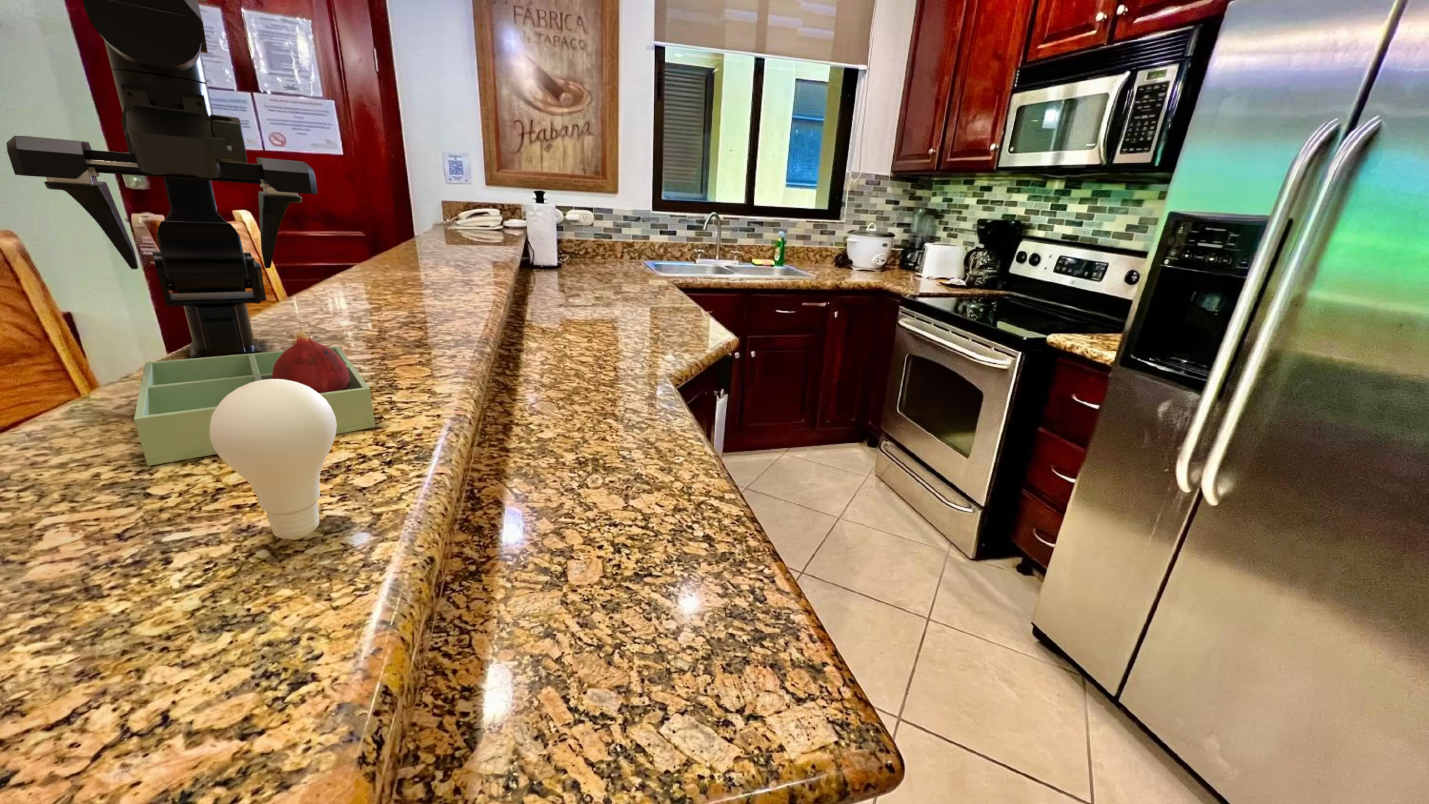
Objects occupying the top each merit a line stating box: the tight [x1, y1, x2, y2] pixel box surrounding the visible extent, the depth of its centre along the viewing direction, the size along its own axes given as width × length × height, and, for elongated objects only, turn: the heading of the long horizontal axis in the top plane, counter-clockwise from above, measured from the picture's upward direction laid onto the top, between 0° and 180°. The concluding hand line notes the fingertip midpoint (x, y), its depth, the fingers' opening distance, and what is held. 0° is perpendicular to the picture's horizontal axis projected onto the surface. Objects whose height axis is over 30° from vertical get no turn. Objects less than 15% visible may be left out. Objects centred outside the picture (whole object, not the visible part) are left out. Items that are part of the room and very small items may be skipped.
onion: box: [272, 331, 350, 393], centre depth 51 cm, size 6×6×8 cm
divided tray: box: [133, 345, 376, 467], centre depth 52 cm, size 16×16×4 cm
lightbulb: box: [210, 379, 337, 541], centre depth 35 cm, size 6×6×11 cm
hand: (205, 268), depth 51 cm, fingers open, 9 cm apart
